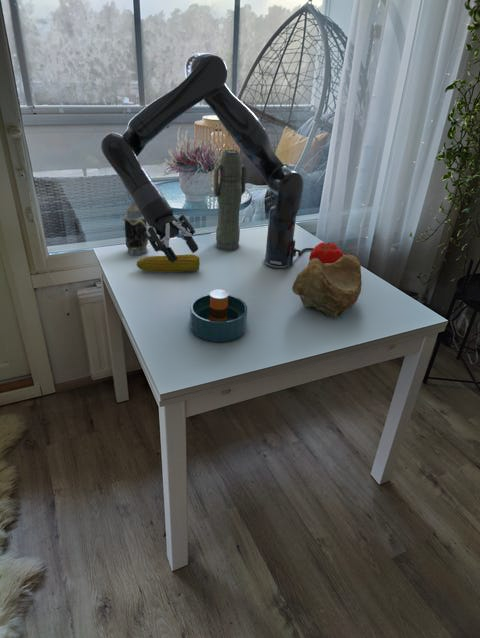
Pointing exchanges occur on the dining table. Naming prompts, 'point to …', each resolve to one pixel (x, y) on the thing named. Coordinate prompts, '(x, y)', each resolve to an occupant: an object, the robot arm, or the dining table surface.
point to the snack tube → (218, 305)
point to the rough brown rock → (330, 285)
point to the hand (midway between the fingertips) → (185, 256)
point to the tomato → (326, 253)
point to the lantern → (135, 230)
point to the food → (169, 263)
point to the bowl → (216, 328)
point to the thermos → (229, 198)
